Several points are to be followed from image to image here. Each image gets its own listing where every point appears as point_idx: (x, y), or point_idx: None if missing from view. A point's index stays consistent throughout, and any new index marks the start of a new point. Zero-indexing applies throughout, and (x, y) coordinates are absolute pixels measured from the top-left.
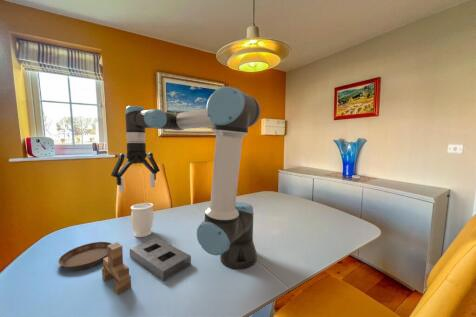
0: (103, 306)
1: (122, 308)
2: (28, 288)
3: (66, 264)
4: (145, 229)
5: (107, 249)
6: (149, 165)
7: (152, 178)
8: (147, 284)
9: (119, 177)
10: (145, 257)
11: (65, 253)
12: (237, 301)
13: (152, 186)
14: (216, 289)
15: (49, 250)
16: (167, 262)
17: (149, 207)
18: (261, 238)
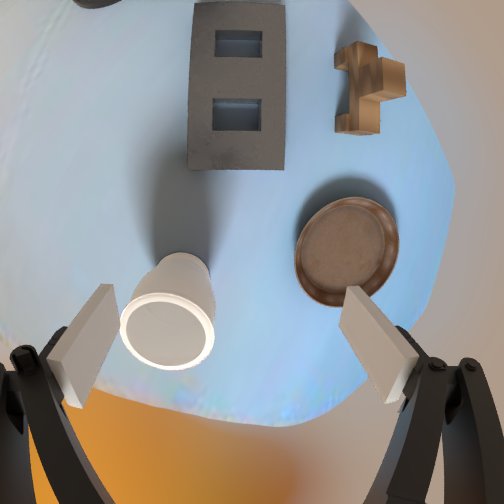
0: None
1: (364, 28)
2: (431, 224)
3: (378, 258)
4: (183, 259)
5: (399, 97)
6: (54, 463)
7: (83, 335)
8: (307, 34)
9: (432, 358)
10: (280, 83)
11: (374, 292)
12: None
13: (111, 297)
14: None
15: None
16: (255, 21)
17: (148, 293)
18: (18, 15)
